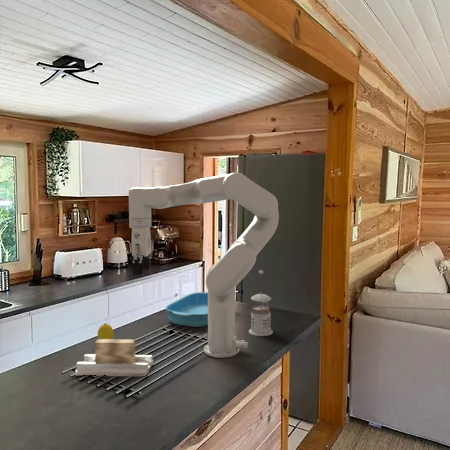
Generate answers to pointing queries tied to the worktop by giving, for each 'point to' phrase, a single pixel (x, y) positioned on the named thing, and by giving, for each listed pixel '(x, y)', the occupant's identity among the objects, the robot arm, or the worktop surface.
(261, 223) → the robot arm
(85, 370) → the bottom track
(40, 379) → the worktop surface
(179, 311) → the casserole dish
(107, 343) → the tan wooden block
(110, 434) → the worktop surface
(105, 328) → the lemon
